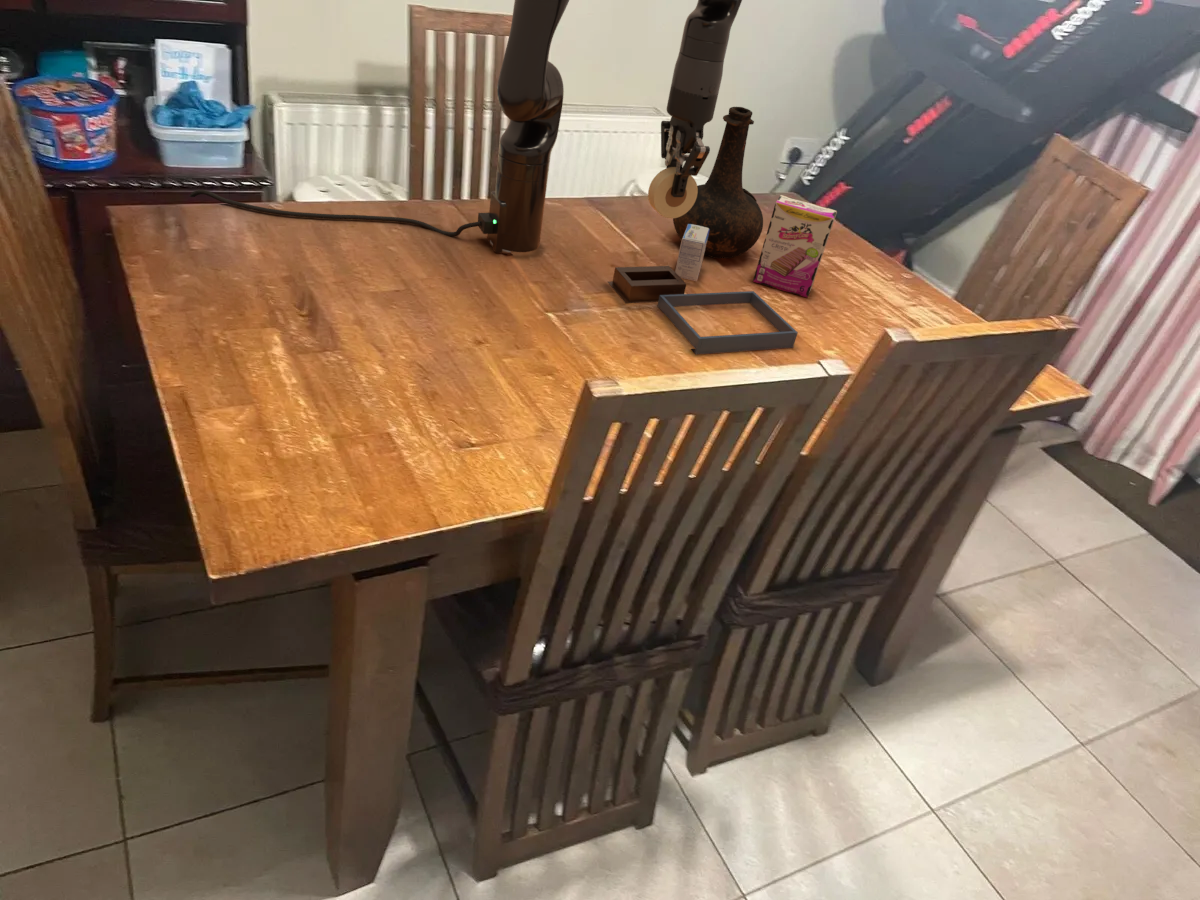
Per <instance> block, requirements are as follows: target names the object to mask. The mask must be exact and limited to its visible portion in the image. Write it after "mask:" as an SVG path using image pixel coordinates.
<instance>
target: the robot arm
mask: <svg viewBox="0 0 1200 900" xmlns="http://www.w3.org/2000/svg"><path fill="white" fill-rule="evenodd" d="M569 2H570V0H514V3H513V10H512V17H511V23H510V30H509V33H508V34H509V35H508V39H507V43H506V47H505V51H504V55H503V59H502V63H501V67H500V70H499V74H498V79H497V84H496V96H497V102H498V105H499V107H500V109H501V112H502V113H503V114H504V115H505V117H506V118H508V119H509V124H508V125H507V127H506V129H505V130H504V131H503V133H502V134H501V136H500V138H499V143H498V155H497V165H496V175H495V185H494V187H495V188H494V190H492V191H491V192H490V201H489V212H477V213H478V215H477V221H475V222H474V221H473V222H469V223H465V224H462V225H460V226H459V227H458V228H457V229H456V231H446V230H442V229H440V228H438V227H435V226H434V225H431V224H429V223H427V222H424V221H420V220H417V219H414V218H413V219H412V218H407V217H406V218H405V217H397V216H385V215H384V216H382V215H380V216H379V215H366V214H365V215H364V214H362V215H361V214H337V213H336V214H335V213H316V212H315V213H314V212H301V211H291V210H283V209H275V208H268V207H262V206H257V205H253V204H249V203H244V202H241V201H235V200H232V199H228V198H225V197H223V196H220V195H218V194H216V193H214V192H213V191H210V190H206V189H196V190H194V191H192V192H191V193H190V194H189V195H188V196H189V197H190V198H195V197H196V196H199V195H205V196H208V197H210V198H212V199H214V200H216V201H219V202H220V203H223V204H226V205H229V206H235V207H238V208H243V209H247V210H251V211H256V212H260V213H266V214H272V215H277V216H286V217H296V218H297V217H298V218H310V219H325V220H326V219H327V220H353V221H354V220H356V221H374V222H375V221H376V222H392V223H393V222H394V223H403V224H404V223H405V224H410V225H416V226H420V227H422V228H425V229H428V230H429V231H433V232H434V233H435V232H436V233H438V234H440V235H444V236H446V237H453V238H454V237H458V236H459V235H461V233H462V232H463V231H465V230H466V229H470V228H476V227H478V228H479V229H480V231H481V232H482V234H483V235H486V240H487V242H488V244H489V245H490V247H491V248H492V250H493V251H494V252H495V253H496V254H505V255H509V256H513V253H530V252H533V251H536V250H537V249H538V248H539V247H540V244H541V236H542V227H543V219H544V212H545V203H546V197H547V196H546V194H547V187H548V180H549V179H548V178H549V171H550V164H551V163H550V162H551V156H552V151H553V149H554V146H555V144H556V141H557V140H558V139H557V138H558V135H559V129H560V124H561V116H562V111H563V110H562V109H563V104H564V95H565V94H564V93H565V91H564V89H565V88H564V81H563V78H562V75H561V72H560V71H559V69H558V68H557V66H556V65H554V64H553V63H552V62H551V61H549V55H550V49H551V46H552V41H553V38H554V35H555V32H556V30H557V28H558V25H559V24H560V22H561V19H562V17H563V15H564V13H565V11H566V9H567V7H568V5H569ZM742 2H743V0H698V1H697V3H696V6H695V8H694V10H692V11H691V12H690V14H689V15H688V16H687V17H686V19H685V22H684V27H683V31H682V36H681V41H680V45H679V51H678V56H677V59H676V61H675V64H674V67H673V68H674V69H673V73H672V78H671V84H670V89H669V94H668V99H667V106H666V113H667V114H668V115H669V116H671V117H670V120H661V122H660V156H661V159H664V166H665V167H666V168H669V167H676V174H675V175H674V180H673V185H672V190H671V195H672V196H673V197H683V196H684V194H685V190H686V185H687V181H688V177H689V176H692V177H696V176H698V174H699V172H700V171H701V169H702V167H703V165H704V163H705V162H706V160H707V158H708V156H709V155H710V151H711V148H710V146H709V145H705V144H704V142H703V139H704V127H705V125H706V124H708V123H710V122H712V120H713V118H714V114H715V111H716V106H717V102H718V96H719V93H720V89H721V83H722V79H723V72H724V64H725V57H726V53H727V49H728V44H729V40H730V34H731V30H732V26H733V23H734V22H735V19H736V17H737V15H738V12H739V10H740V7H741V4H742ZM666 168H665V169H666Z"/></svg>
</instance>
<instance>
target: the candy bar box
mask: <svg viewBox="0 0 1200 900" xmlns="http://www.w3.org/2000/svg"><path fill="white" fill-rule="evenodd" d="M771 213H772V214H771V217H770V220H769V224H768V228H767V230H766V234H765V238H764V241H763V244H762V248H761V252H760V255H759V258H758V262H757V265H756V269H755V272H754V274H753V275H754V276H753V279H752V282H753V283H755V284H756V283H757V284H759V285H763V286H767V287H770V288H773V289H777V290H780V291H783V292H786V293H789V294H794V295H797V296H799V297H803V298H809V295H810V293H811V291H812V289H813V287H814V283H815V280H816V277H817V273H818V271H819V268H820V265H821V261H822V258H823V256H824V253H825V249H826V246H827V243H828V240H829V237H830V234H831V231H832V228H833V226H834V222H835V219H836V216H837V214H838V211H837V210H835V209H832V208H829V207H825V206H822V205H818V204H814V203H811V202H808V201H807V202H806V201H803V200H800V199H797V198H793V197H790V196H786V195H783V194H780V195H779V196H778V198H777V199H776V201H775V203H774V207H773V210H772V212H771Z"/></svg>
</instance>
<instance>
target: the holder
mask: <svg viewBox="0 0 1200 900" xmlns="http://www.w3.org/2000/svg"><path fill="white" fill-rule="evenodd" d="M613 271H614V272H613V277H612V280H611V281H610V280H609V281H607V283H608V285H609V286H610V287H611V288H612V289H613V291H614V292H615V293H616V294H617V295H618V296H619V298H620V299H621V300H622V301H623V303H624V304H642V303H643V304H645V303H647V304H649V303H658V300H659V296H660V295H674V294H686V287H687V283H686V282H685V281H684V279H683V278H680V277H679V276H678V275H677V274H676V273H675V270H674V269H673V268H672V267H671V266H670V265H649V266H647V265H646V266H616V267H614V270H613Z"/></svg>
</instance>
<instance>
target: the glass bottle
mask: <svg viewBox="0 0 1200 900" xmlns="http://www.w3.org/2000/svg"><path fill="white" fill-rule="evenodd" d="M752 116H753V111H752V110H750V109H749V108H746V107H744V106H731V107H728V114H725V115H723V116H722V119H723V122H725V127H724V130H723V134H722V137H721V141H720V145H719V149H718V152H717V155H716V158H715V161H714V164H713V167H712V168H711V169H712V170H711V172H710V174H709V176H708V179H707V180H706V182H705V183H704V184H697V188H698V193H697V198H696V201H695V203H694V205H693V206H692V208H691V209H690V210H689V211H688V212H687V213H685V214H684V215H682V216H680V217H678V218H672V223H673V227H674V230H675V232H676V235H677V236H678V238H679V240H680V241H682V238H683V236H684V233H685V231H686V228H687V225H688V224H693V225H698V226H703V227H706V228H709V229H710V230H709V235H708V239H707V244H706V248H705V252H704V256H707V257H712V258H713V259H731V258H735V257H738V256H741V255H742V254H745V253H746V252H748V251H749V250H751V249H752V248H753V247H754V246H755V244H757V242H758V241H759V239H760V237H761V235H762V232H763V228H764V217H763V216H764V215H763V212H762V209H761V207H760V205H759V203H757V199H756V197H755V196H754V195H753V194H752V193H751V192H750V191H749V190H747V189H746V188H744V187H743V169H744V158H745V152H746V151H745V150H746V146H747V139H748V133H749V129H750V125H751V126H752V125H754V123H755V120H753V119H752Z"/></svg>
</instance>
